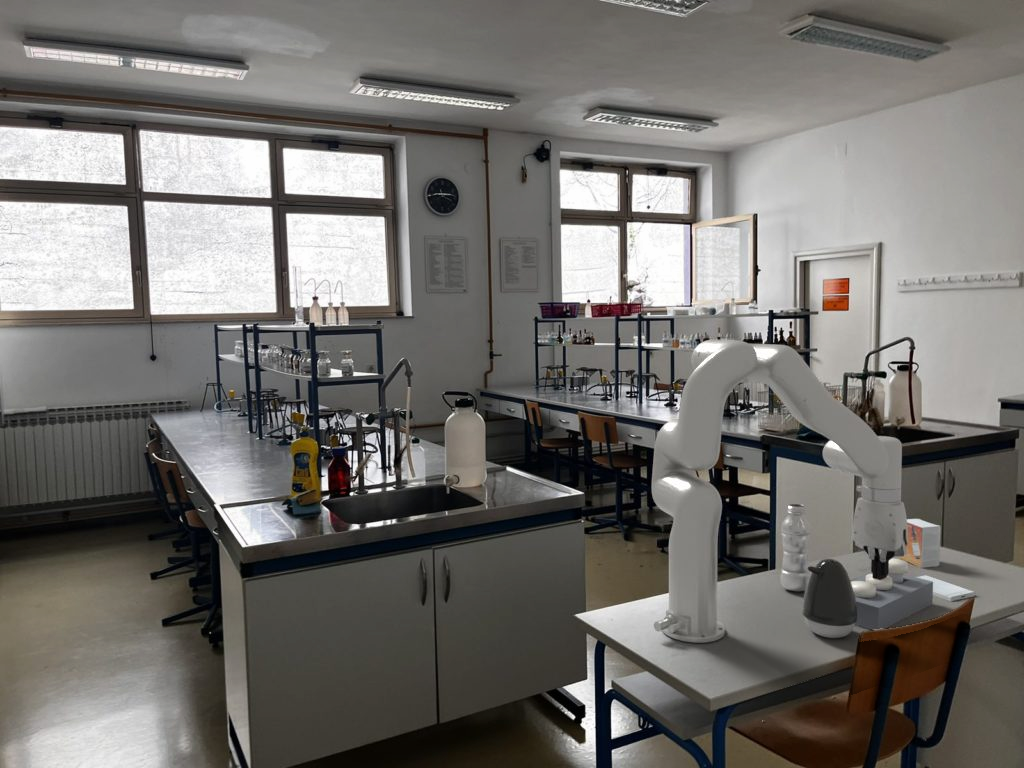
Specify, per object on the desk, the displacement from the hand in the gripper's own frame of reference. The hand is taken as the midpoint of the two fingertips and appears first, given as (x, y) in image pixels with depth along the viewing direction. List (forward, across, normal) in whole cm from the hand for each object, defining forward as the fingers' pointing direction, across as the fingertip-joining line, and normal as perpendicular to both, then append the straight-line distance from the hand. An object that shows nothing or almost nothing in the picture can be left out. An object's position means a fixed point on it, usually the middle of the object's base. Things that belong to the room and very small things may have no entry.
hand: (879, 577), depth 163 cm
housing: (+7, 0, 0) cm, 7 cm away
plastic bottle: (+7, -18, -3) cm, 20 cm away
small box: (+7, -9, +39) cm, 41 cm away
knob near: (+6, 0, -7) cm, 9 cm away
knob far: (+4, 0, +7) cm, 8 cm away
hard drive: (+8, +3, +22) cm, 23 cm away
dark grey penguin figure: (+7, 0, -20) cm, 21 cm away
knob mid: (+6, 0, 0) cm, 6 cm away
